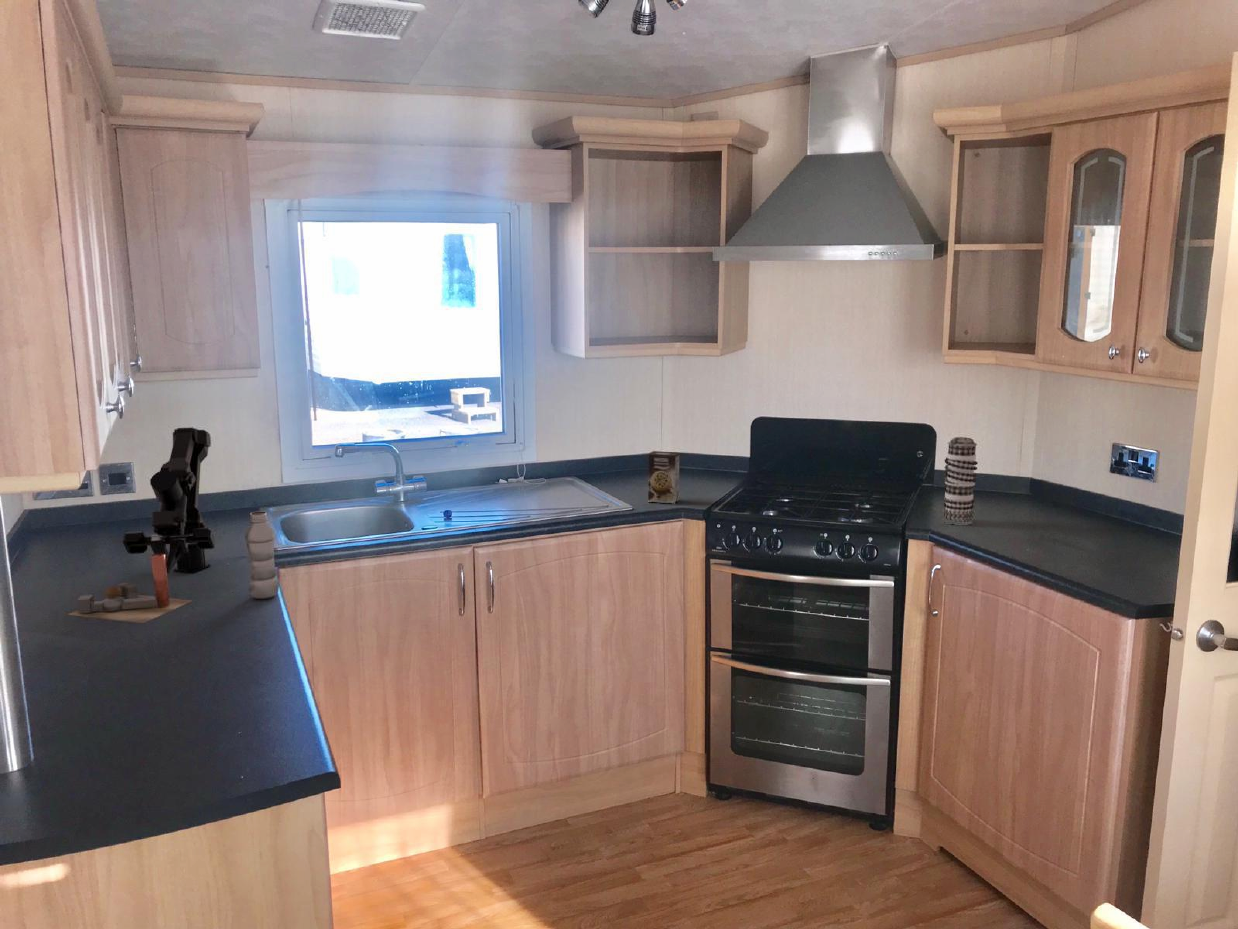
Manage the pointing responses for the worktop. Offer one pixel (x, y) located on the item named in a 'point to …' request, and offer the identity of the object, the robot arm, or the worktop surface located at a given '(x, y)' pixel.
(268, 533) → the plastic bottle
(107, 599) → the lever
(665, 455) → the cookie box
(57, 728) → the worktop surface
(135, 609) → the wooden board
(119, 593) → the walnut
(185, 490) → the robot arm
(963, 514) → the decorative candle
